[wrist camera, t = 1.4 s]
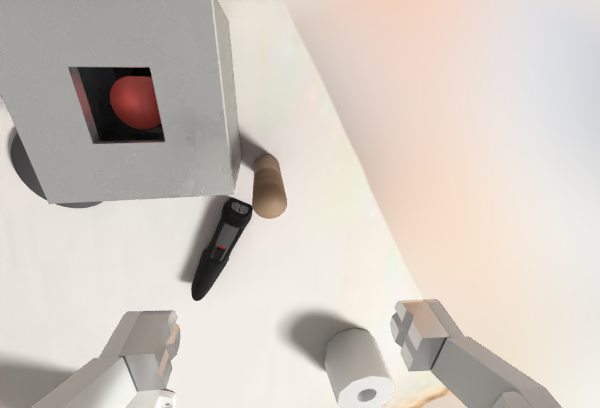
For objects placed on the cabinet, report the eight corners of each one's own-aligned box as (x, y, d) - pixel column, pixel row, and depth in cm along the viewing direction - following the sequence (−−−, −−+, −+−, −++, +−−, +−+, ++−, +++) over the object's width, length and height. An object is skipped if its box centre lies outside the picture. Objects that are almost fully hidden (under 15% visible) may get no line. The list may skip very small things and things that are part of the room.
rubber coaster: (129, 203, 33) (126, 205, 32) (38, 208, 32) (34, 210, 31) (103, 118, 28) (100, 119, 28) (-3, 120, 27) (-8, 120, 27)
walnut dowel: (279, 177, 34) (287, 217, 24) (255, 178, 34) (253, 219, 24) (278, 154, 33) (286, 186, 23) (253, 155, 32) (251, 188, 22)
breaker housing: (241, 159, 32) (233, 194, 22) (117, 163, 31) (48, 203, 21) (228, 21, 26) (209, -15, 17) (73, 17, 25) (-51, -25, 15)
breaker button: (179, 123, 25) (169, 128, 22) (133, 124, 25) (118, 130, 22) (170, 76, 23) (158, 75, 21) (121, 76, 23) (103, 75, 20)
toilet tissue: (322, 378, 52) (333, 429, 45) (328, 329, 47) (342, 378, 39) (366, 373, 54) (384, 422, 46) (377, 325, 48) (399, 372, 40)
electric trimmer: (186, 281, 39) (180, 298, 36) (228, 194, 34) (225, 205, 31) (211, 289, 40) (207, 305, 38) (255, 206, 35) (255, 217, 33)
